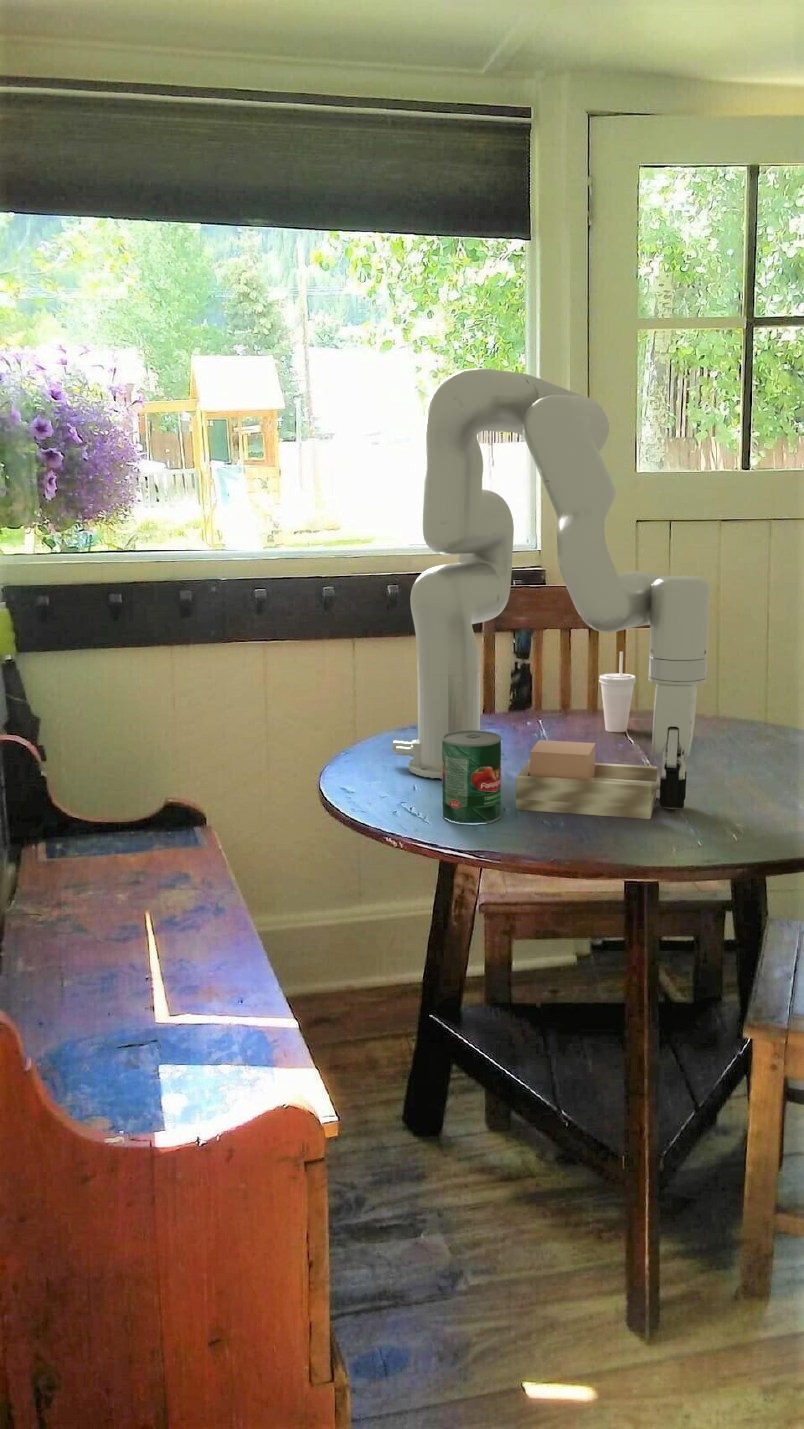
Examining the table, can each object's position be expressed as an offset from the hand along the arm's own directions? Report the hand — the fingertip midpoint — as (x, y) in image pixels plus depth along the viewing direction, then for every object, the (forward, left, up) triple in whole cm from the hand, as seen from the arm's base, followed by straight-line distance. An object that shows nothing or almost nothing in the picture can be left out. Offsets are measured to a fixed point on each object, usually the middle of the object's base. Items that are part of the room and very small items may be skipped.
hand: (672, 802), depth 156 cm
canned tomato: (-26, -10, -1) cm, 28 cm away
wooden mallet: (-9, 0, -1) cm, 9 cm away
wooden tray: (-13, 0, -1) cm, 13 cm away
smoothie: (-13, +47, -1) cm, 49 cm away
